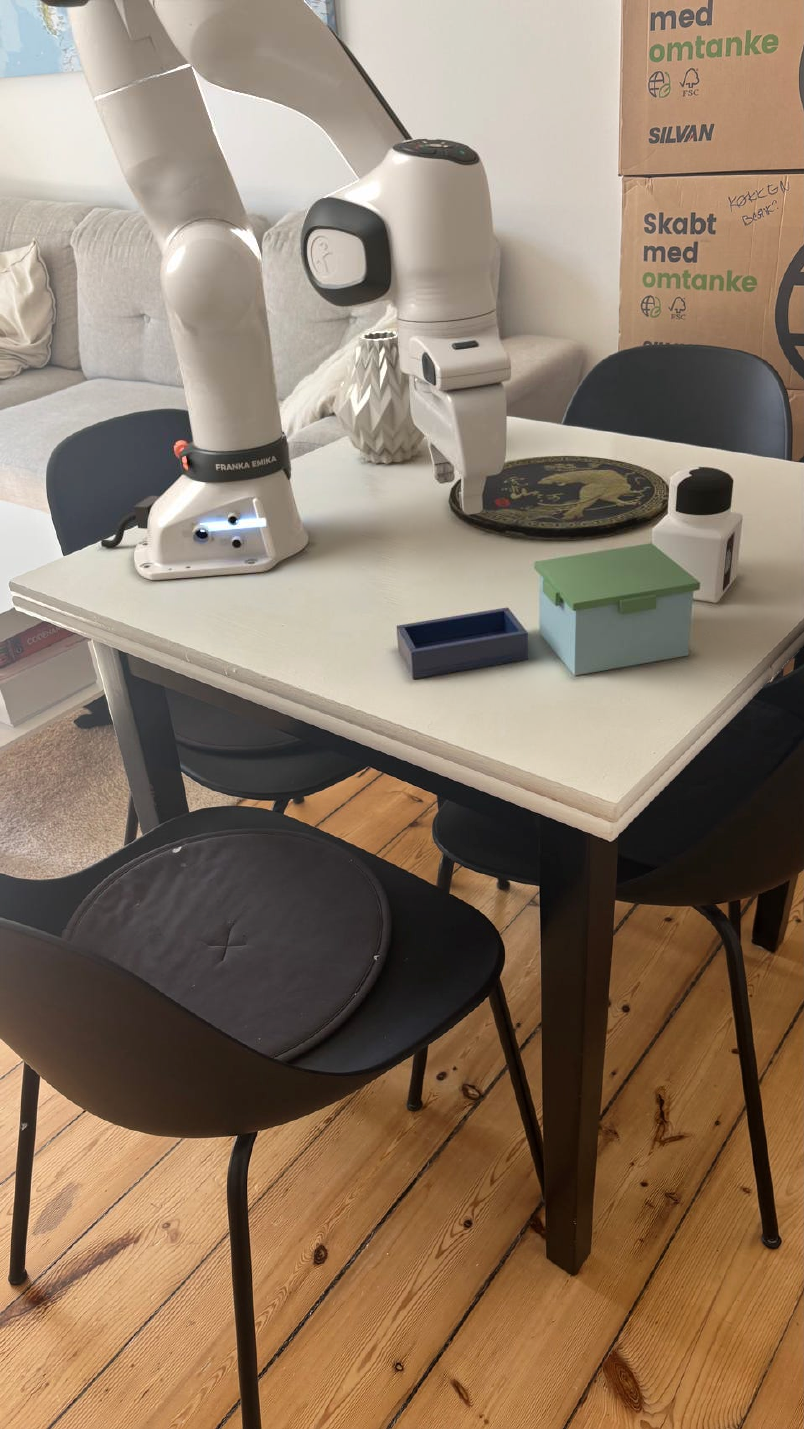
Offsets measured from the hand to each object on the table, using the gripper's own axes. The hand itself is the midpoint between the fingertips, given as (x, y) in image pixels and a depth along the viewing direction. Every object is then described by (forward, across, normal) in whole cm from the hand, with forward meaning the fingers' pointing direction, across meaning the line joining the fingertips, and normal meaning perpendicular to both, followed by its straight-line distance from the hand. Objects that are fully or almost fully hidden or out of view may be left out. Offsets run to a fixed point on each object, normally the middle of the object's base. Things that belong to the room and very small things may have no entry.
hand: (457, 495), depth 101 cm
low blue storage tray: (+16, +2, -1) cm, 16 cm away
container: (+17, -6, +28) cm, 33 cm away
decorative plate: (+17, -38, +24) cm, 48 cm away
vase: (+16, -68, +7) cm, 70 cm away
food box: (+17, +4, +14) cm, 22 cm away
